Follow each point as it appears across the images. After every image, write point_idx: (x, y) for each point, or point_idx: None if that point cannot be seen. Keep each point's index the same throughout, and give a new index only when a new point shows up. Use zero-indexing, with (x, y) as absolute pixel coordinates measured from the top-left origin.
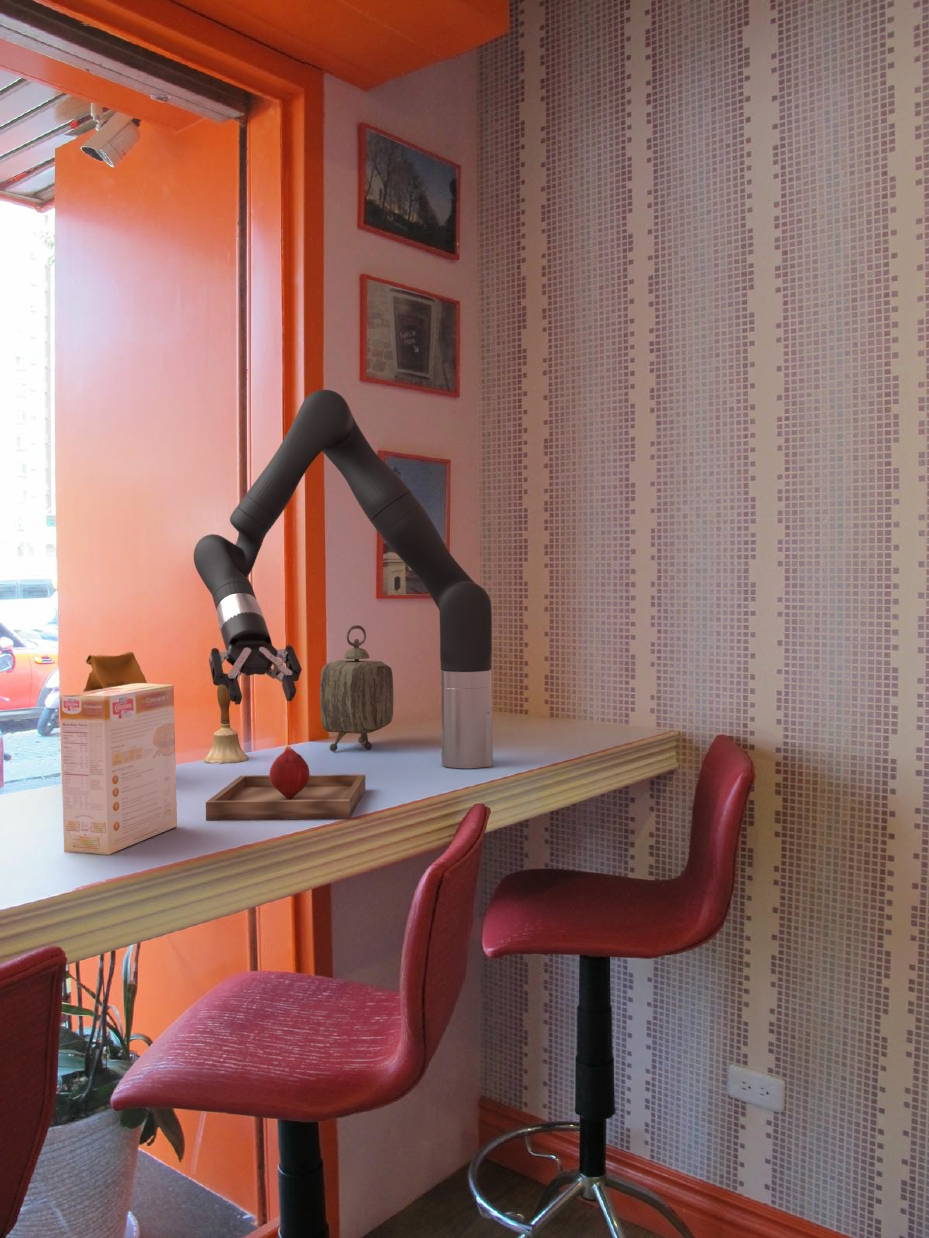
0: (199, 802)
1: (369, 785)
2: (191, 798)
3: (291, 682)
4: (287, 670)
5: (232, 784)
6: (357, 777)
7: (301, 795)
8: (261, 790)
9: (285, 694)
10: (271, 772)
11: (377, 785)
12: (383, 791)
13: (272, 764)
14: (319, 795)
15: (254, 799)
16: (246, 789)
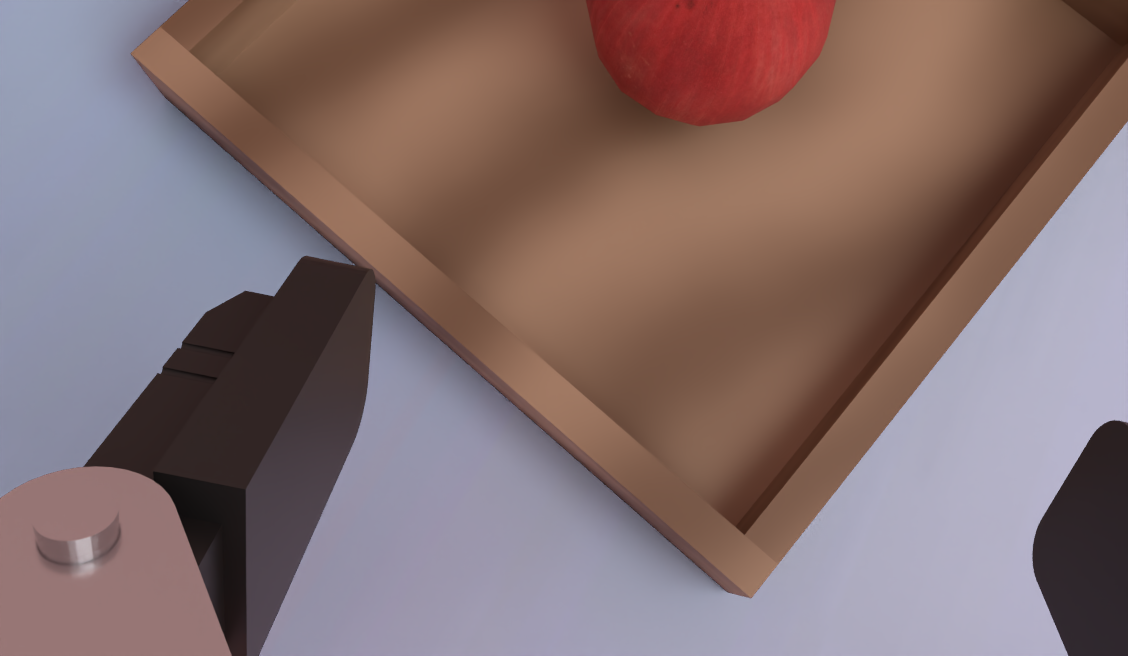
0: (1041, 463)
1: (56, 190)
2: (1041, 605)
3: (176, 423)
4: (62, 574)
5: (917, 349)
6: (233, 7)
7: (596, 93)
8: (697, 372)
9: (325, 488)
10: (835, 2)
11: (24, 157)
12: (122, 2)
13: (826, 5)
14: (522, 29)
15: (841, 179)
16: (752, 468)
